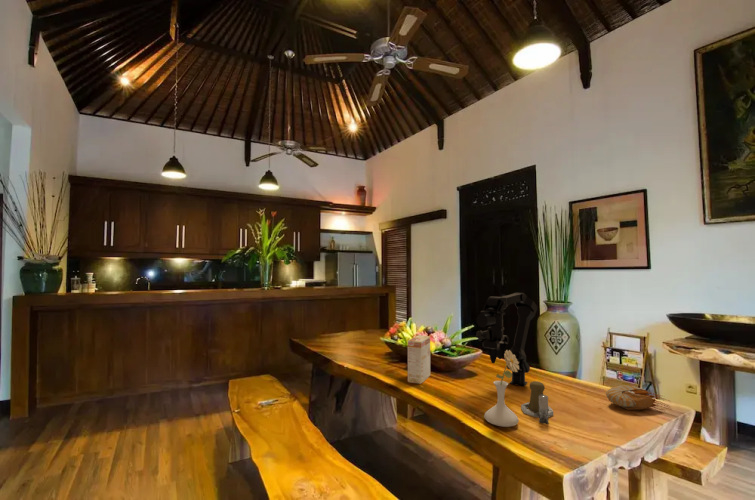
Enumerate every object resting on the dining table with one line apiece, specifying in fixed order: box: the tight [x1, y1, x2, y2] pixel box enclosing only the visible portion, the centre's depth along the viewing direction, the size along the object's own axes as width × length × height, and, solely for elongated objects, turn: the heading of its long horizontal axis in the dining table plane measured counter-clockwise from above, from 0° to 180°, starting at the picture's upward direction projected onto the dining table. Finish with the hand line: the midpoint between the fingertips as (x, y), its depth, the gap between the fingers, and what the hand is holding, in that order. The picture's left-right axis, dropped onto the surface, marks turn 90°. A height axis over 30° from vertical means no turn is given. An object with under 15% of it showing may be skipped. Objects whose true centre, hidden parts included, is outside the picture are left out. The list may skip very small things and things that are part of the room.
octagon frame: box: [520, 394, 554, 425], centre depth 134 cm, size 16×10×9 cm, turn 170°
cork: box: [528, 380, 545, 412], centre depth 137 cm, size 6×6×11 cm
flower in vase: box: [483, 349, 520, 428], centre depth 127 cm, size 13×11×25 cm
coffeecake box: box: [407, 334, 431, 385], centre depth 176 cm, size 15×7×20 cm, turn 154°
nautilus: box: [605, 384, 674, 414], centre depth 140 cm, size 8×22×15 cm
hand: (496, 361), depth 160 cm, fingers open, 9 cm apart
